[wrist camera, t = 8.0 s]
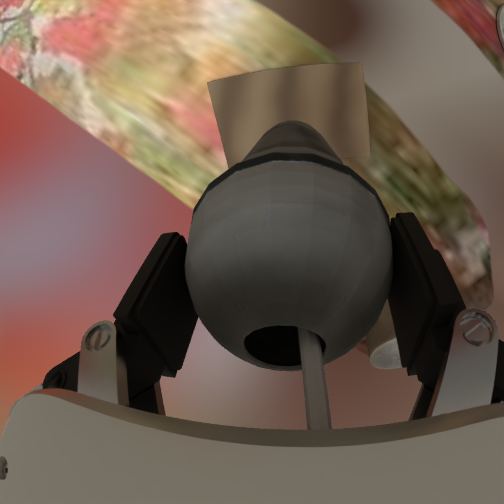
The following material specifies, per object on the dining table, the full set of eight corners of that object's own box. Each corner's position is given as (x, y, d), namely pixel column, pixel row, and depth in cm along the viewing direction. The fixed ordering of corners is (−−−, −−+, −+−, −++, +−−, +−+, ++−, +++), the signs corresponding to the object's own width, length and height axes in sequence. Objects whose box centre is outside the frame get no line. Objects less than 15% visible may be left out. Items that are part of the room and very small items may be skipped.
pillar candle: (349, 301, 49) (357, 374, 38) (374, 263, 43) (394, 339, 31) (391, 310, 50) (405, 378, 38) (418, 275, 44) (443, 346, 32)
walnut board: (358, 62, 26) (361, 62, 24) (367, 153, 33) (370, 157, 31) (210, 81, 30) (206, 82, 28) (231, 167, 37) (229, 171, 35)
